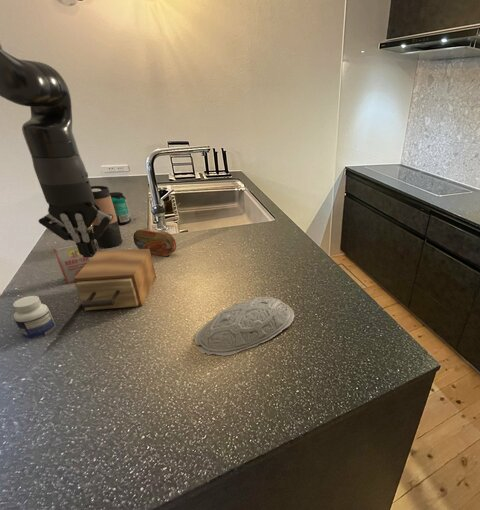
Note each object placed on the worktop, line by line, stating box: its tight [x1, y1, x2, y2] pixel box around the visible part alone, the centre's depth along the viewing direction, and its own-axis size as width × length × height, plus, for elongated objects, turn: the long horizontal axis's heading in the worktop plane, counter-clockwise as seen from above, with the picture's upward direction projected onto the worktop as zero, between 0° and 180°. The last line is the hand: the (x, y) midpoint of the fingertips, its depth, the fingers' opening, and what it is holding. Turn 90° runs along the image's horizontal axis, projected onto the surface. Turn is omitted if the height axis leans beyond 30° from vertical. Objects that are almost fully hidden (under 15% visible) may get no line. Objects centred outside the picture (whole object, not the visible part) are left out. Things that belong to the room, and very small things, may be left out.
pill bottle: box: [12, 295, 57, 340], centre depth 66 cm, size 5×5×10 cm
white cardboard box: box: [53, 244, 92, 285], centre depth 87 cm, size 4×7×10 cm, turn 134°
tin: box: [132, 227, 177, 257], centre depth 104 cm, size 15×3×8 cm, turn 76°
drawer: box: [74, 277, 139, 311], centre depth 79 cm, size 19×11×8 cm, turn 15°
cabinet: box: [73, 248, 157, 312], centre depth 82 cm, size 15×13×10 cm
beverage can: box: [110, 191, 132, 226], centre depth 123 cm, size 7×7×12 cm
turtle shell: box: [194, 296, 295, 357], centre depth 75 cm, size 16×25×7 cm, turn 131°
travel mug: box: [90, 185, 123, 249], centre depth 104 cm, size 8×8×20 cm
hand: (90, 255), depth 68 cm, fingers closed
